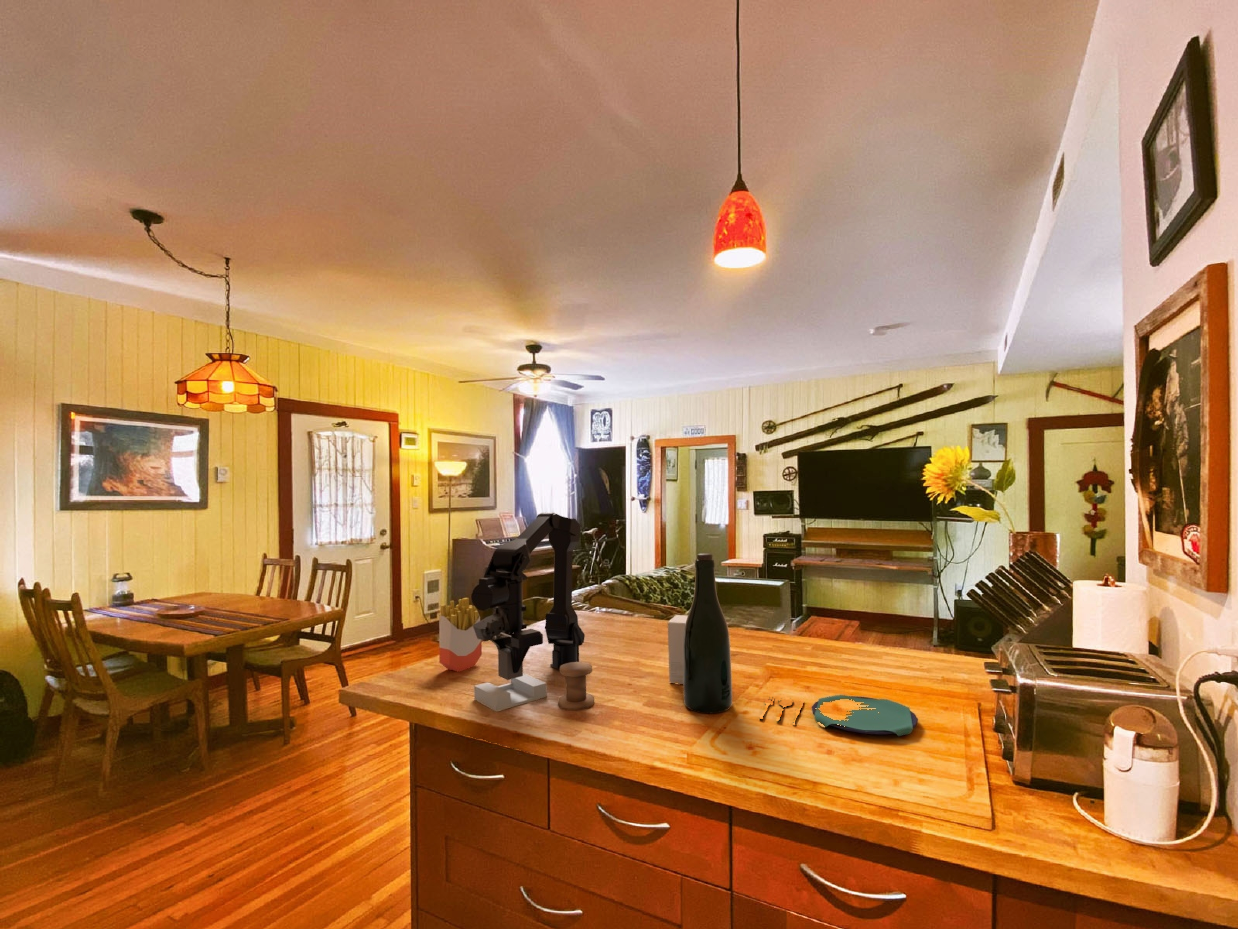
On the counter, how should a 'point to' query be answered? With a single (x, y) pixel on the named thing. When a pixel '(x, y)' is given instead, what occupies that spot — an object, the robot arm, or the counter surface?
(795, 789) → the counter surface
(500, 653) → the block
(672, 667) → the supplement box
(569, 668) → the bobbin
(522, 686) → the notched board
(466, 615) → the french fries container
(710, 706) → the wine bottle
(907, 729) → the teal oval plate
